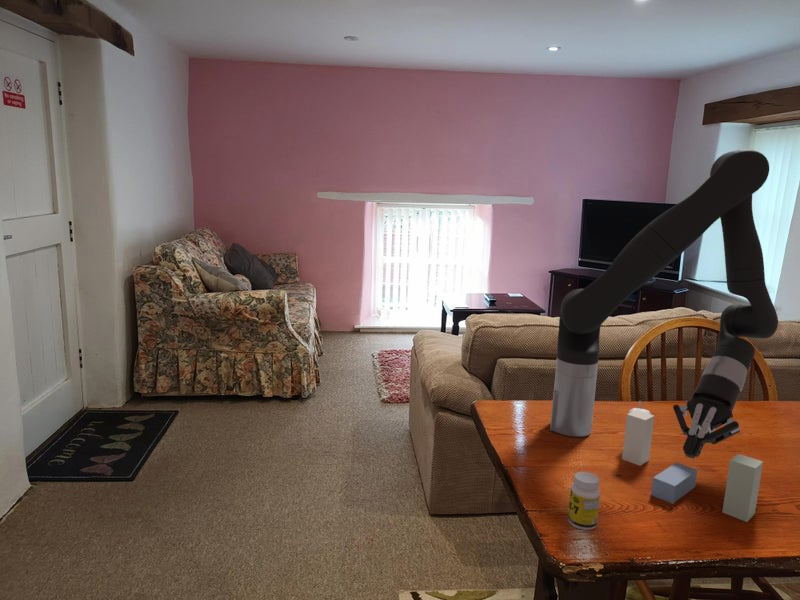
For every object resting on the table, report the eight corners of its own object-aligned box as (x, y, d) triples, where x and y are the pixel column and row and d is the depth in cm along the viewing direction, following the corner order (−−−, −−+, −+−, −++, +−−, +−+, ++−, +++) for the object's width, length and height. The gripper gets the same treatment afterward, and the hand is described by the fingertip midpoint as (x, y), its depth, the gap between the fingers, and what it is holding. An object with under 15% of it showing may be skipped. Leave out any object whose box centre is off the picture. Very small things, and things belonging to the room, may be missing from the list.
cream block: (621, 459, 125) (626, 414, 123) (630, 453, 127) (635, 409, 126) (640, 465, 122) (645, 420, 120) (649, 460, 125) (654, 415, 123)
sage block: (722, 512, 105) (730, 459, 103) (730, 504, 108) (738, 453, 106) (746, 522, 102) (755, 468, 100) (754, 514, 105) (763, 461, 103)
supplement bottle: (563, 515, 102) (567, 470, 101) (590, 515, 103) (594, 470, 101) (573, 531, 97) (578, 484, 96) (601, 530, 98) (606, 483, 96)
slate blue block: (673, 480, 117) (650, 497, 110) (676, 462, 116) (653, 477, 109) (694, 489, 114) (672, 506, 107) (697, 469, 113) (675, 486, 107)
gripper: (684, 365, 123) (651, 435, 117) (754, 382, 114) (722, 459, 108) (691, 384, 128) (659, 453, 122) (759, 402, 118) (728, 477, 112)
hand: (689, 455), depth 115 cm, fingers closed
